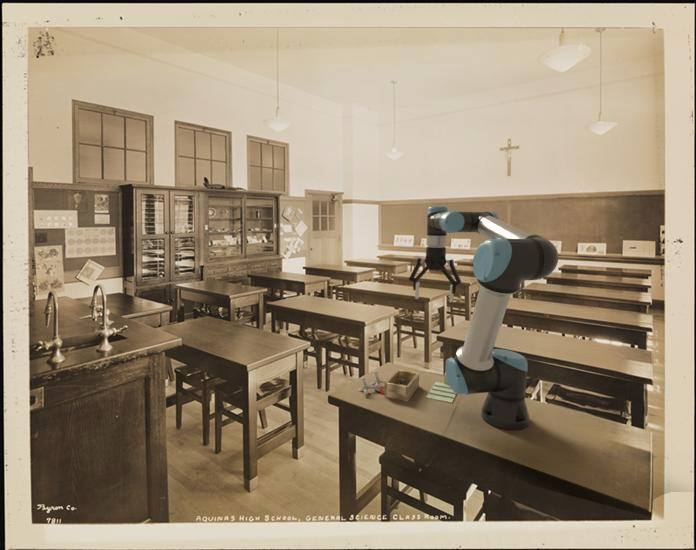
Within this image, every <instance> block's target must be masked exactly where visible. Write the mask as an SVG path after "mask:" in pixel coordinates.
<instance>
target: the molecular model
mask: <svg viewBox="0 0 696 550" xmlns="http://www.w3.org/2000/svg"><path fill="white" fill-rule="evenodd" d="M373 374H374V376H375V379H374V381H373V382H372V381H371V382H370V385H371V386H370V385H368V384H367V382H366V377H365V376H362V377H361V381H362V383H363V385H362V387H361V388H358V390H357V391H358V392H363V391H364V392H363V395H368V394H369V391H368V390H369V389H370V390H374V391H376V392H378V393H380V394H381V395H384V392H385V389H384V388H382V387H381V386H380V385H379V384H381V383H382V384H384V385H385V382H386V381H387V380H388V379H387V380H386V379H384V380H383V379H380V378H379V376H378V374H379V372H378V371H377V370H374V371H373Z"/></svg>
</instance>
